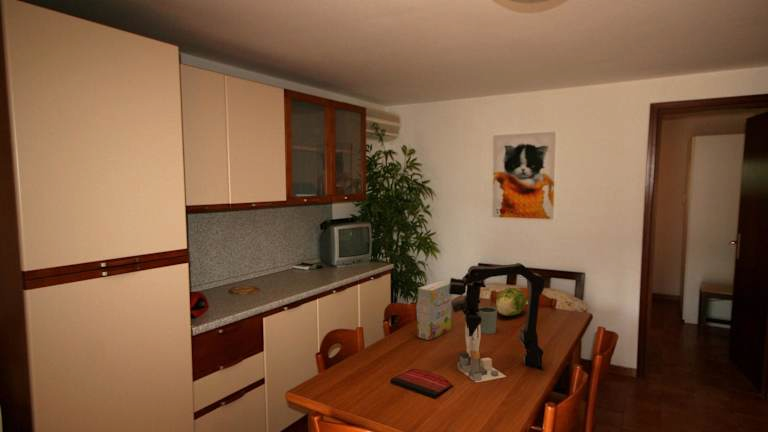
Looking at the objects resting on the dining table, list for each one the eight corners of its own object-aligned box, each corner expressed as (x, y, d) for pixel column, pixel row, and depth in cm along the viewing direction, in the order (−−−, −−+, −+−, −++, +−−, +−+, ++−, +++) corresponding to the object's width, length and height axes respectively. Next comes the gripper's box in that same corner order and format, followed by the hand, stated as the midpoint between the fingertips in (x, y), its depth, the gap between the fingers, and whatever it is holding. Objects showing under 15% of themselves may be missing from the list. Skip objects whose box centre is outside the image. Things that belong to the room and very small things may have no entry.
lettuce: (488, 319, 250) (488, 292, 248) (505, 308, 271) (505, 283, 270) (514, 323, 241) (514, 296, 240) (529, 312, 262) (530, 286, 261)
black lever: (464, 366, 181) (464, 350, 181) (468, 369, 178) (468, 353, 178) (459, 366, 181) (459, 351, 180) (463, 370, 177) (463, 354, 177)
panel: (486, 365, 186) (486, 357, 186) (506, 378, 173) (506, 370, 173) (457, 370, 181) (457, 362, 181) (476, 385, 168) (476, 375, 168)
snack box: (431, 341, 215) (431, 290, 213) (416, 338, 220) (416, 287, 218) (452, 329, 232) (452, 282, 230) (438, 326, 237) (438, 280, 235)
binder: (435, 394, 157) (389, 378, 170) (435, 400, 158) (389, 384, 171) (457, 380, 170) (413, 366, 183) (457, 386, 170) (413, 372, 183)
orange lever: (474, 373, 174) (475, 350, 173) (479, 377, 171) (479, 353, 170) (469, 374, 173) (469, 351, 173) (474, 378, 170) (474, 354, 169)
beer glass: (469, 360, 191) (469, 327, 190) (462, 354, 198) (462, 322, 197) (483, 358, 193) (483, 325, 192) (476, 353, 200) (476, 321, 199)
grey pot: (495, 328, 233) (495, 306, 232) (498, 335, 223) (498, 312, 222) (476, 328, 234) (476, 306, 233) (478, 334, 224) (478, 311, 223)
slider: (488, 366, 182) (488, 357, 182) (491, 369, 180) (491, 359, 180) (480, 368, 181) (480, 358, 181) (483, 370, 179) (483, 361, 178)
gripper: (452, 288, 194) (448, 322, 196) (455, 300, 176) (451, 337, 177) (477, 291, 193) (473, 325, 195) (483, 303, 175) (479, 340, 176)
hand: (469, 331), depth 186 cm, fingers open, 9 cm apart
